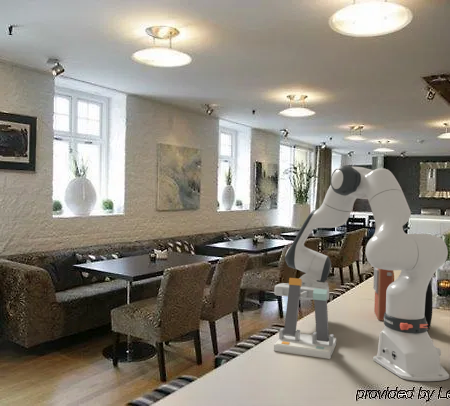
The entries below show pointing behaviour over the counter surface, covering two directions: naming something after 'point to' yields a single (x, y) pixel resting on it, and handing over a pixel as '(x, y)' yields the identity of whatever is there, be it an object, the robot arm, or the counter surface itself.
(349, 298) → the counter surface
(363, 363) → the counter surface
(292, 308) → the lever orange
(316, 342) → the console
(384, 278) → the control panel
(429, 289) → the portable speaker
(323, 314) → the lever teal
